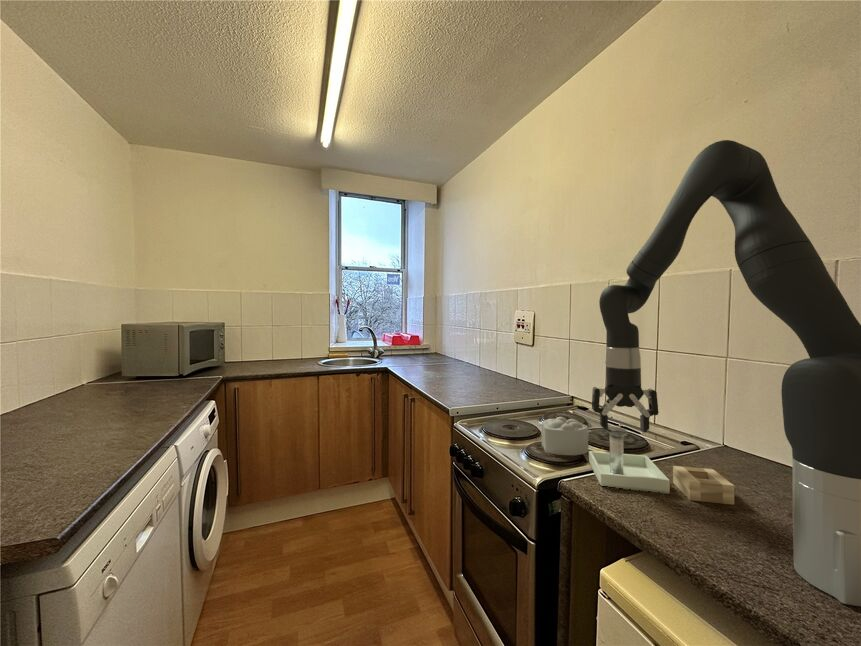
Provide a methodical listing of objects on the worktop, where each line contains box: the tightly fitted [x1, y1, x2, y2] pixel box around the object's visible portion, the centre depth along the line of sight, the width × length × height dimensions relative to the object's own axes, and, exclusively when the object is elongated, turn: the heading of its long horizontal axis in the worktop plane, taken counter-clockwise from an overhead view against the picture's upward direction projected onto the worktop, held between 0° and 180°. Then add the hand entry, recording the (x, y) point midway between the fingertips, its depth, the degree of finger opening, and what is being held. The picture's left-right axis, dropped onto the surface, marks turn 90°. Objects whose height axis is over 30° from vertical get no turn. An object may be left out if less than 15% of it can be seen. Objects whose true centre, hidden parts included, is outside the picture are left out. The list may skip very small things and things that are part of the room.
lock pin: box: [605, 426, 628, 475], centre depth 83 cm, size 4×4×11 cm
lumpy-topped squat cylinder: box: [540, 416, 589, 456], centre depth 101 cm, size 10×13×9 cm
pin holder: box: [672, 465, 735, 505], centre depth 74 cm, size 8×8×4 cm
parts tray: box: [588, 450, 671, 495], centre depth 83 cm, size 14×14×3 cm
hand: (624, 430), depth 83 cm, fingers open, 8 cm apart
